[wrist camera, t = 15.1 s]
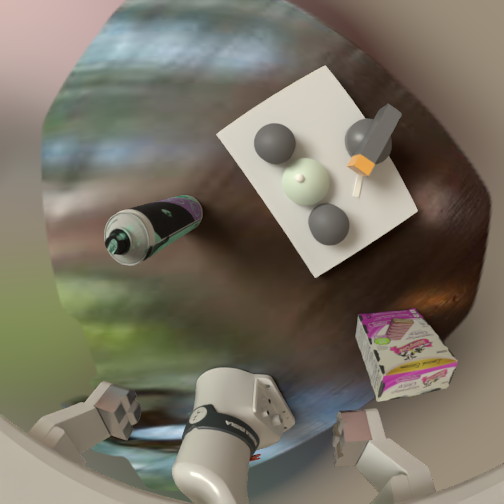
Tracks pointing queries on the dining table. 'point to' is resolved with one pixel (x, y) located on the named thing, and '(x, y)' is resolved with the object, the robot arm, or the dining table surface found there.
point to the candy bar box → (403, 354)
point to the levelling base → (328, 148)
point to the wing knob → (371, 140)
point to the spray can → (150, 228)
